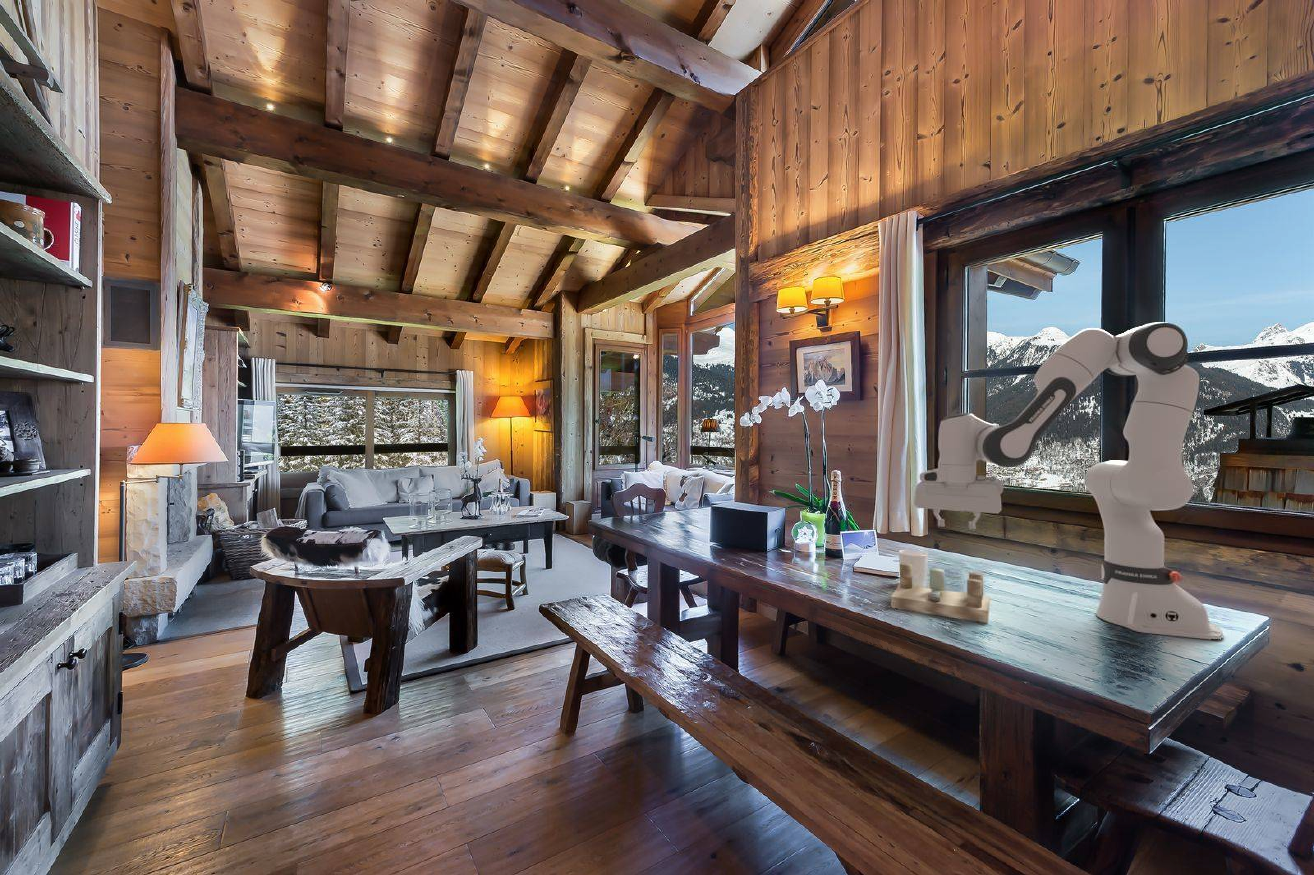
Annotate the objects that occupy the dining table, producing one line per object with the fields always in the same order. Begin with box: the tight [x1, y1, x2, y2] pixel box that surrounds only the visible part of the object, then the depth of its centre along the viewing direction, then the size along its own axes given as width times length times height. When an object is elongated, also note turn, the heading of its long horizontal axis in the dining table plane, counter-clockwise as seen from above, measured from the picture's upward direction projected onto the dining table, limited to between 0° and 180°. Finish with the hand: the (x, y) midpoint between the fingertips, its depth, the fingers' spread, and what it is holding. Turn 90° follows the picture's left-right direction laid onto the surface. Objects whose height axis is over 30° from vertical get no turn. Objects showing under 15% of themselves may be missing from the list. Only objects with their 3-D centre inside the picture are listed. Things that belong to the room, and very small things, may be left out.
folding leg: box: [928, 567, 946, 601], centre depth 146 cm, size 10×4×6 cm, turn 148°
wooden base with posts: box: [890, 563, 991, 624], centre depth 146 cm, size 22×14×9 cm, turn 58°
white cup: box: [898, 549, 929, 588], centre depth 167 cm, size 8×8×10 cm
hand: (956, 527), depth 146 cm, fingers open, 6 cm apart
